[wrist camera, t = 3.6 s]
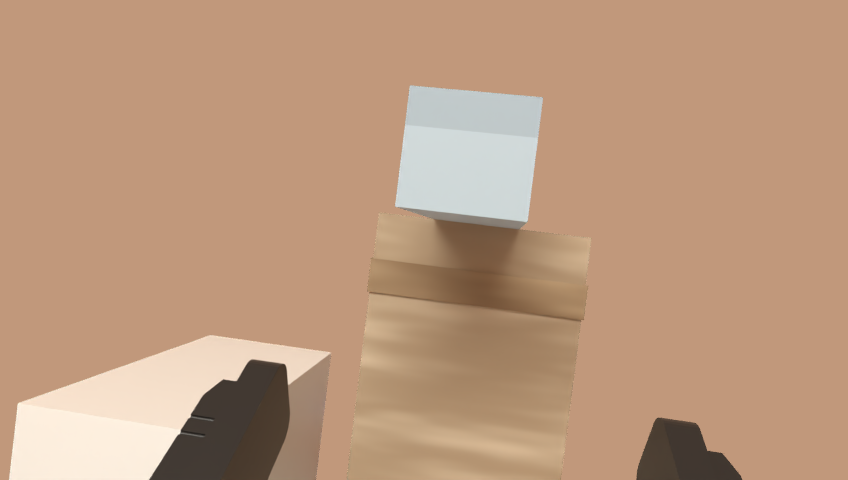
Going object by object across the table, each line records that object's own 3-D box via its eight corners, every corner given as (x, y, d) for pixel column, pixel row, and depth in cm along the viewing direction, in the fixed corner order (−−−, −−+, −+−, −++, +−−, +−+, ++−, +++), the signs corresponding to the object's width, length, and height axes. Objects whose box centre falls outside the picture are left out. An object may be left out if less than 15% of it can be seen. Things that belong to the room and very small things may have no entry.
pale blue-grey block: (457, 226, 42) (463, 174, 42) (514, 233, 41) (520, 180, 41) (395, 206, 18) (409, 85, 18) (527, 222, 18) (542, 97, 18)
